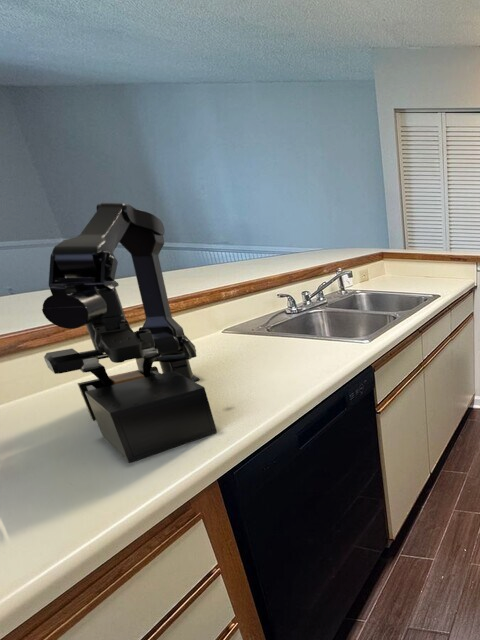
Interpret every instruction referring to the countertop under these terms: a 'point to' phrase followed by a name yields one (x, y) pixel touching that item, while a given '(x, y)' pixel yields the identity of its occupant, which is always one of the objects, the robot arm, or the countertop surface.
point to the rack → (98, 384)
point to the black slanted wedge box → (151, 414)
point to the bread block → (126, 377)
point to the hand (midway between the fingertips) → (131, 391)
